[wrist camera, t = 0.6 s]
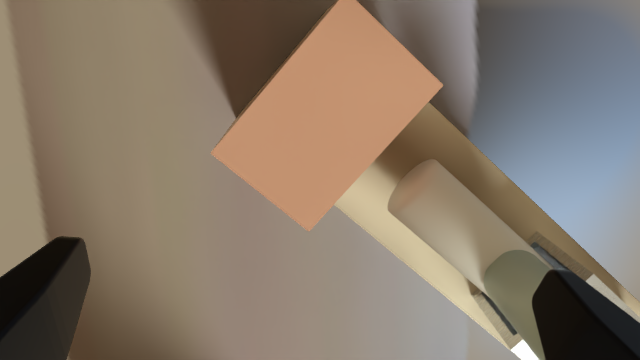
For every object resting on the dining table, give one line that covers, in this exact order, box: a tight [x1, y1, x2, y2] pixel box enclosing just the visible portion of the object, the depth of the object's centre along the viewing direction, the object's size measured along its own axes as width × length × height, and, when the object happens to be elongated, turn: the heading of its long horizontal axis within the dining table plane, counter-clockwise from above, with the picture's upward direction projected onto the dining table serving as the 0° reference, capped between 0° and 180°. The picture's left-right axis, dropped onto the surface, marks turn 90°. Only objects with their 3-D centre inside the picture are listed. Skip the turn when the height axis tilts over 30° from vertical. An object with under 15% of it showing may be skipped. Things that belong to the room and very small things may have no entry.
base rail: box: [239, 8, 640, 359], centre depth 26 cm, size 7×26×1 cm, turn 48°
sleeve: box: [471, 231, 640, 360], centre depth 25 cm, size 5×8×5 cm, turn 48°
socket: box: [211, 0, 443, 231], centre depth 20 cm, size 7×4×7 cm, turn 138°
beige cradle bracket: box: [387, 159, 555, 360], centre depth 20 cm, size 3×15×12 cm, turn 48°
